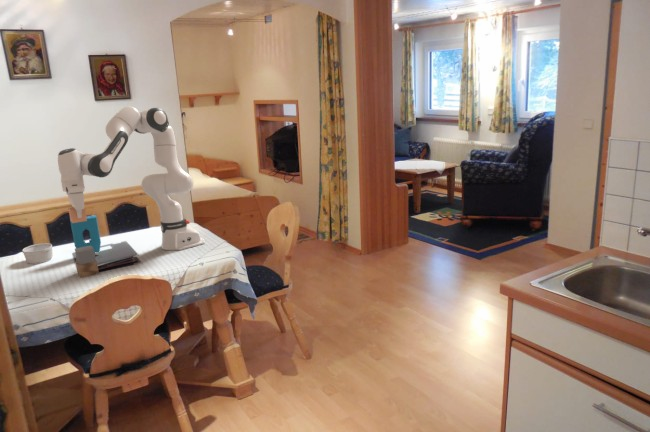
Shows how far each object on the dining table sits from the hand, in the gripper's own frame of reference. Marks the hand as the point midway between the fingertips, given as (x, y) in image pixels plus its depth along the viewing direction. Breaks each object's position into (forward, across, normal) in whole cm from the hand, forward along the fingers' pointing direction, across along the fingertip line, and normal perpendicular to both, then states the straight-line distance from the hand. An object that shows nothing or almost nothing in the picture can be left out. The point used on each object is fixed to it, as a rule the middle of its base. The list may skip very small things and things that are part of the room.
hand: (78, 216), depth 230 cm
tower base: (+28, 0, 0) cm, 28 cm away
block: (+28, -28, +5) cm, 39 cm away
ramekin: (+28, -38, -17) cm, 50 cm away
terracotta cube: (+2, 0, 0) cm, 2 cm away
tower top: (+22, 0, 0) cm, 22 cm away
